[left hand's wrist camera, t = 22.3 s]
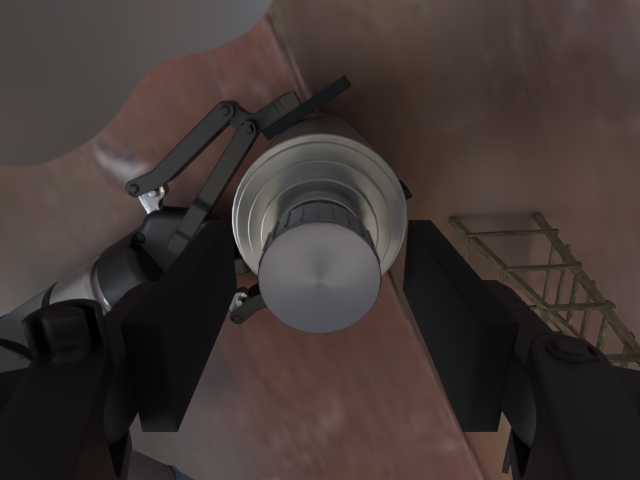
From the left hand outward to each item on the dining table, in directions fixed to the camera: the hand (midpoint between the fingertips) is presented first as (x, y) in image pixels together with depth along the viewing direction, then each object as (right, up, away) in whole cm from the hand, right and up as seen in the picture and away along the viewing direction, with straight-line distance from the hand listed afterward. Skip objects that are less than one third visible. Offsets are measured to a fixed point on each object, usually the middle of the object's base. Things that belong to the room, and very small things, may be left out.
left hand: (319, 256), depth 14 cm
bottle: (0, +8, +20) cm, 22 cm away
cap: (0, -1, -2) cm, 2 cm away
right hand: (+4, +8, +14) cm, 16 cm away
